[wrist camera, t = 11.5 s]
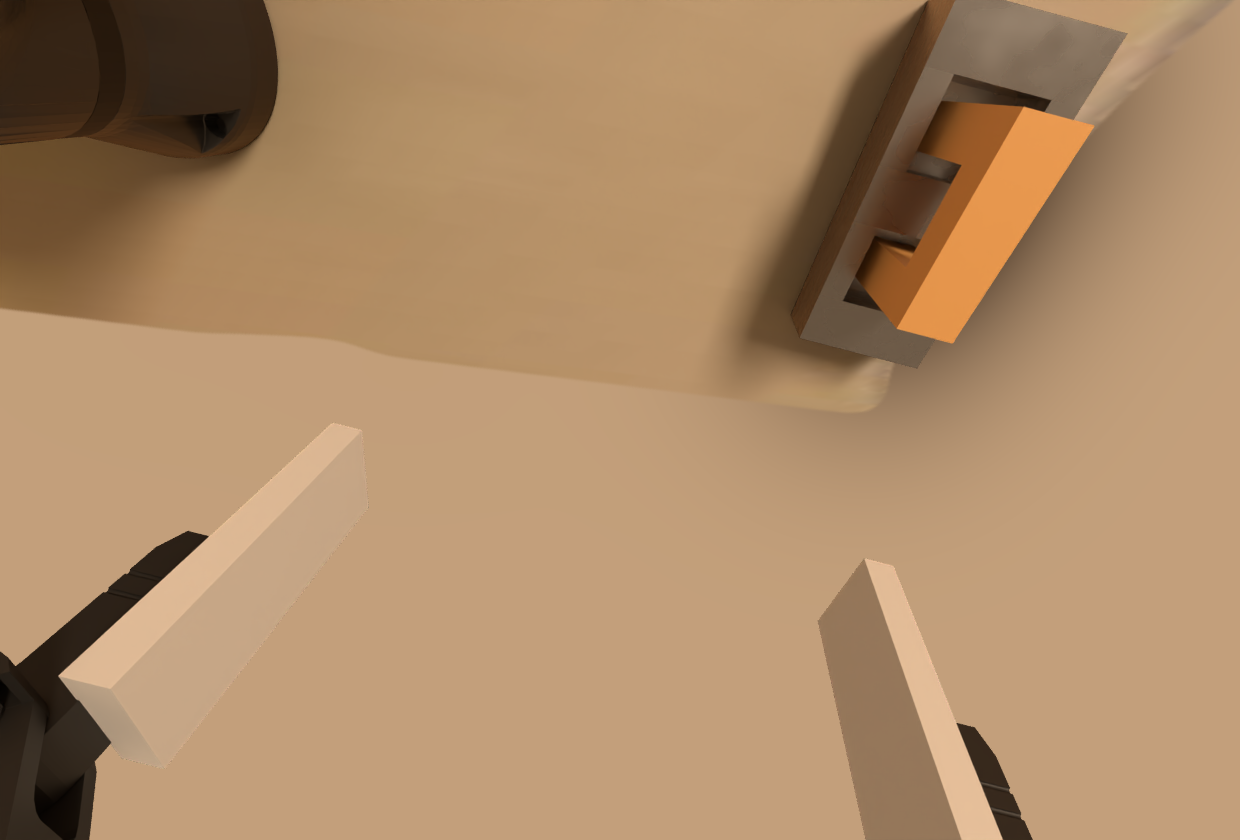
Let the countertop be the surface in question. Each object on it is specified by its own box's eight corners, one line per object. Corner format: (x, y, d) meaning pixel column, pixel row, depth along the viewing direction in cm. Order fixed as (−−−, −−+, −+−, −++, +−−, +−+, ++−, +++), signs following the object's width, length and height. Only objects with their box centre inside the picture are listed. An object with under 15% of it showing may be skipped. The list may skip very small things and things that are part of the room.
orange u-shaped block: (851, 272, 34) (896, 328, 26) (934, 100, 29) (1023, 106, 21) (894, 283, 34) (952, 343, 26) (986, 114, 29) (1094, 125, 21)
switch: (790, 314, 37) (799, 338, 34) (928, -1, 27) (960, -12, 23) (897, 342, 37) (917, 368, 34) (1075, 39, 27) (1127, 33, 24)
